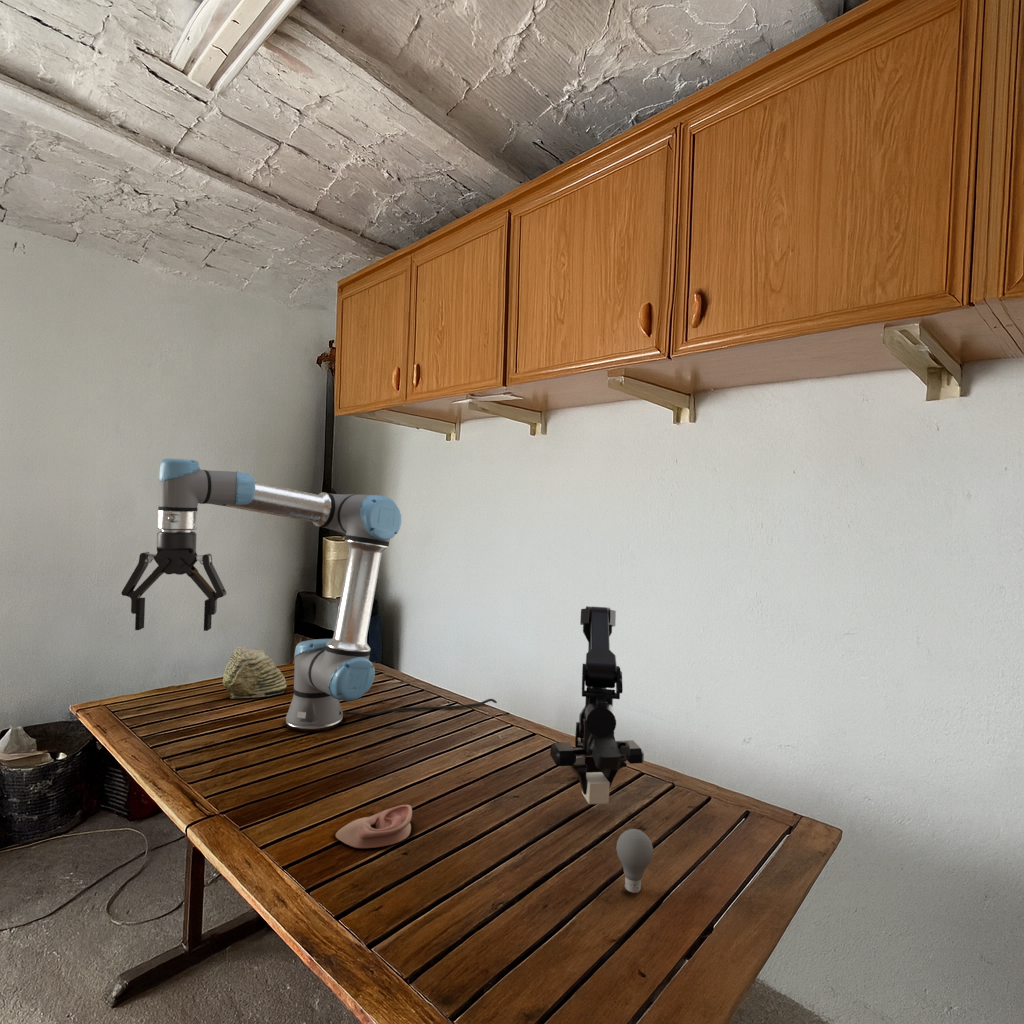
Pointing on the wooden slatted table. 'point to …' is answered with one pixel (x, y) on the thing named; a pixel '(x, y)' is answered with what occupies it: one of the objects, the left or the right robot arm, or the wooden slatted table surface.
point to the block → (597, 788)
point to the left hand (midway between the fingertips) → (173, 629)
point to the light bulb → (634, 857)
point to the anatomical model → (378, 828)
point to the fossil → (252, 674)
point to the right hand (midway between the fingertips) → (594, 793)
